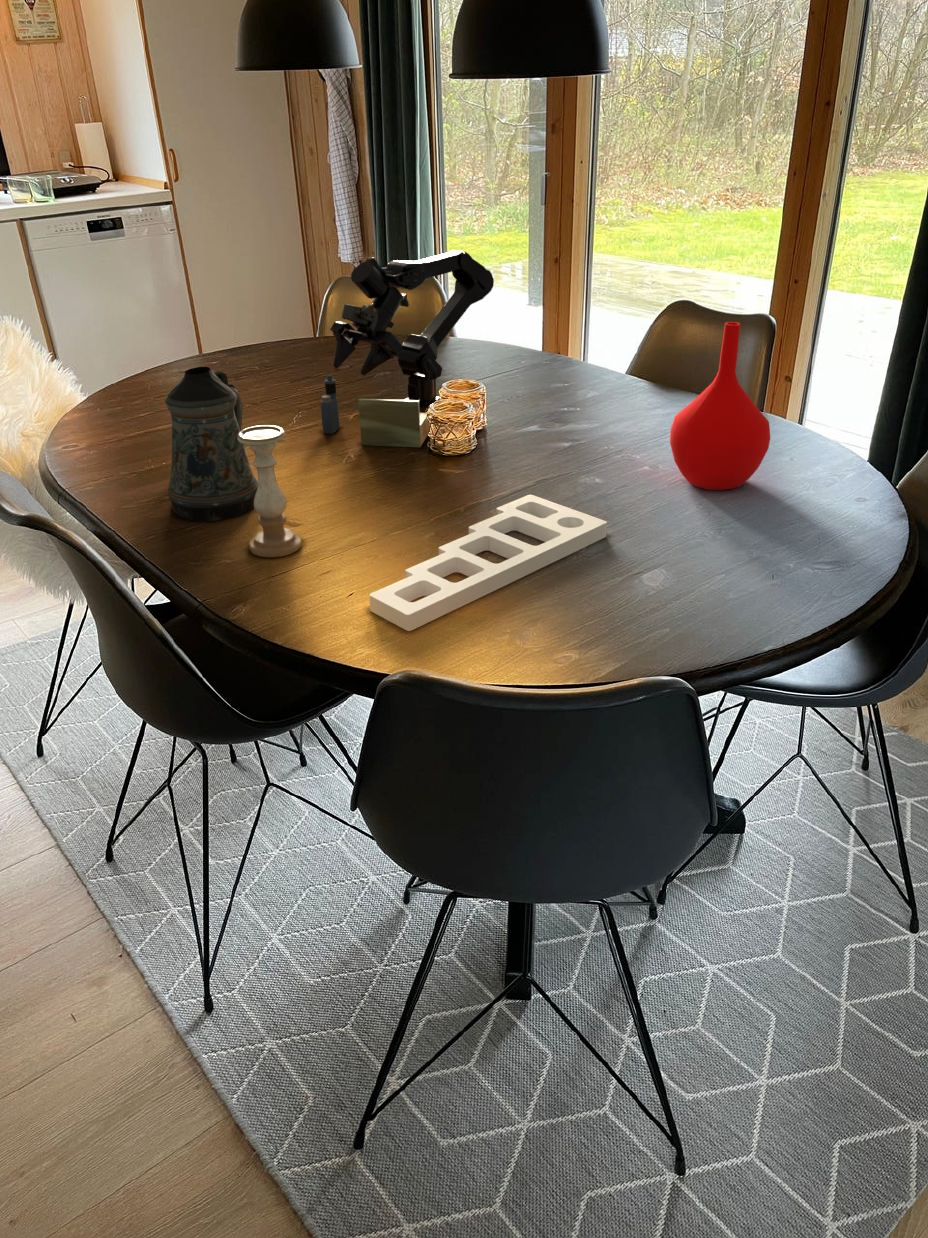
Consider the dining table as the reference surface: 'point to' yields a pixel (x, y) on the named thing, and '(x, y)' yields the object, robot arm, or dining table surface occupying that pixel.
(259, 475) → the candle holder
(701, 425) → the vase
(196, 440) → the beer stein
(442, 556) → the holder
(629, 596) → the dining table surface
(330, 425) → the vaping device
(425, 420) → the glossy olive-green box
